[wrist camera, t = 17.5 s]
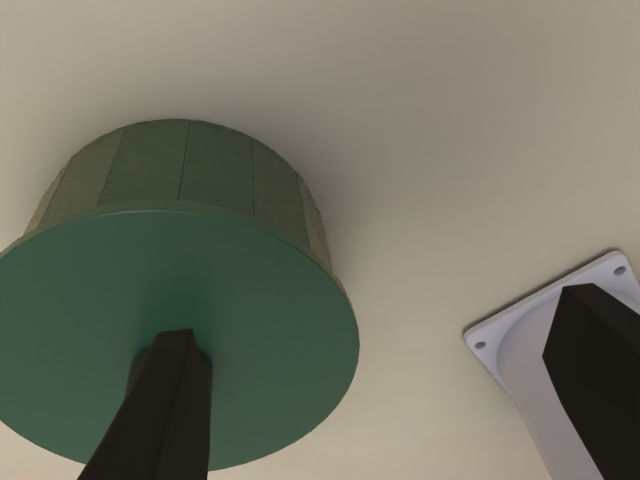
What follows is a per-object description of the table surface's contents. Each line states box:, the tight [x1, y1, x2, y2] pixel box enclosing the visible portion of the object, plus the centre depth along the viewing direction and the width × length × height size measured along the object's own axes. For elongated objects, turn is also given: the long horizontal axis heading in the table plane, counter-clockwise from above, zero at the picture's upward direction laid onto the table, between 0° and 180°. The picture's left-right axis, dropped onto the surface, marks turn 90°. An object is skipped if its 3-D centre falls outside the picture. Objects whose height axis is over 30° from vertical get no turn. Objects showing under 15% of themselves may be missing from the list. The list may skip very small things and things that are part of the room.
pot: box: [23, 119, 333, 271], centre depth 19 cm, size 10×10×6 cm
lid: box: [0, 200, 360, 471], centre depth 16 cm, size 11×11×4 cm
